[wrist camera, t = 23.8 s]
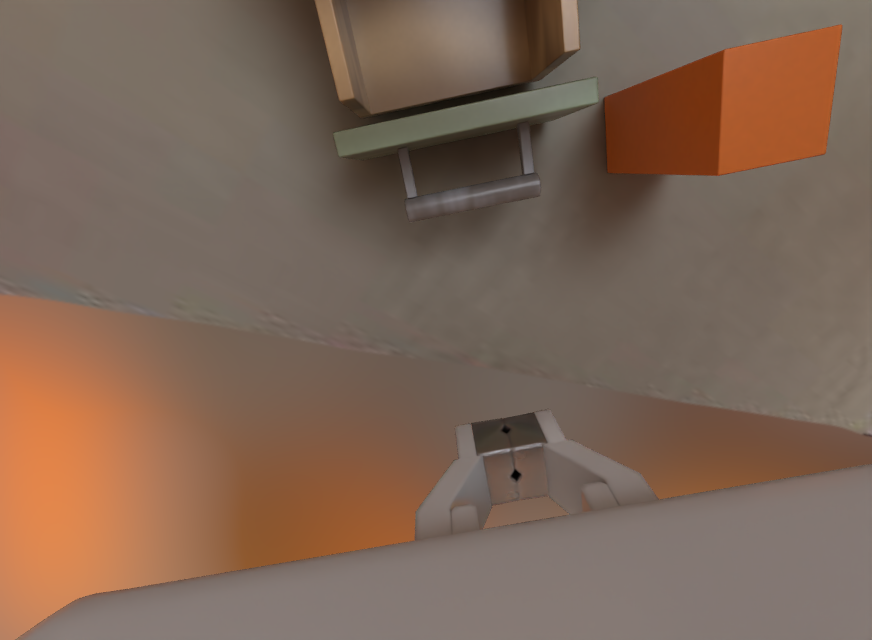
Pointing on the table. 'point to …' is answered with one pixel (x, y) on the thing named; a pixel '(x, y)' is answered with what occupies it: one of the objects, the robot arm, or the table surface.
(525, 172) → the drawer
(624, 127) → the box
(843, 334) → the table surface
